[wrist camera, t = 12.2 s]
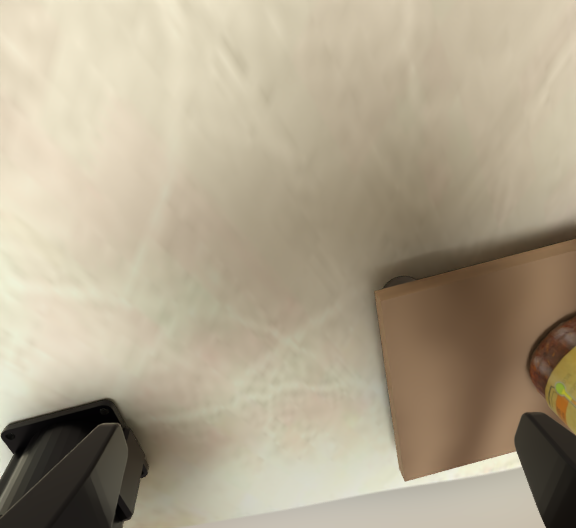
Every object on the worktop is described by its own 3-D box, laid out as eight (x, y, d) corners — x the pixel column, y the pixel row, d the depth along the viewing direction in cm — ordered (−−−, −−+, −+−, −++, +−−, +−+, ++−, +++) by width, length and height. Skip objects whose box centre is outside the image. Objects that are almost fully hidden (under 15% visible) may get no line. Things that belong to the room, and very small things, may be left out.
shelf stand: (388, 443, 29) (404, 481, 27) (362, 273, 23) (380, 301, 20) (682, 363, 30) (727, 393, 27) (735, 176, 24) (800, 191, 21)
